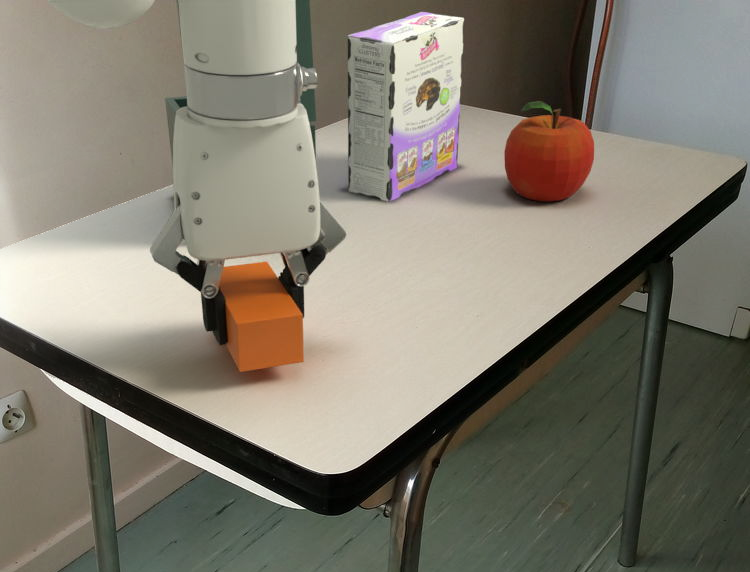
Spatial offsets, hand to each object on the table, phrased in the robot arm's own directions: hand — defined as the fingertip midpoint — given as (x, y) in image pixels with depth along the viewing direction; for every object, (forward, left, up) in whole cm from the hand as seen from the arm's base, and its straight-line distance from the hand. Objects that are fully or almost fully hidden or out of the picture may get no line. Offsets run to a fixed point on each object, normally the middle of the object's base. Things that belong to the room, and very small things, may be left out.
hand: (254, 330), depth 79 cm
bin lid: (+6, +24, +16) cm, 29 cm away
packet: (0, 0, -1) cm, 1 cm away
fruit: (+39, +25, -3) cm, 46 cm away
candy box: (+26, +34, -3) cm, 43 cm away
